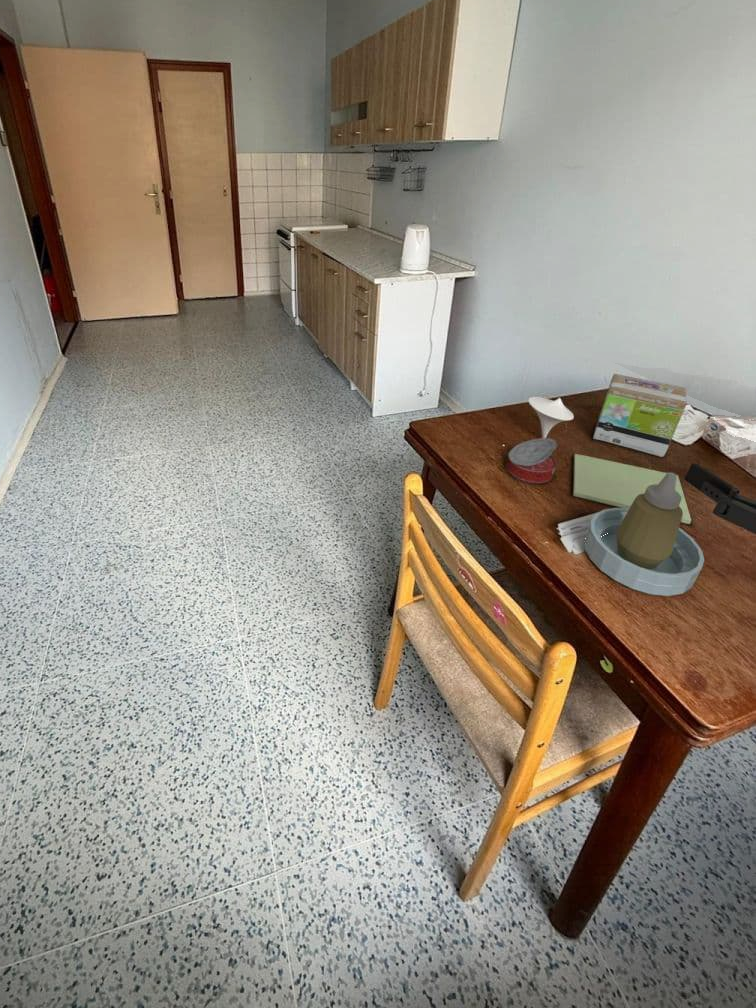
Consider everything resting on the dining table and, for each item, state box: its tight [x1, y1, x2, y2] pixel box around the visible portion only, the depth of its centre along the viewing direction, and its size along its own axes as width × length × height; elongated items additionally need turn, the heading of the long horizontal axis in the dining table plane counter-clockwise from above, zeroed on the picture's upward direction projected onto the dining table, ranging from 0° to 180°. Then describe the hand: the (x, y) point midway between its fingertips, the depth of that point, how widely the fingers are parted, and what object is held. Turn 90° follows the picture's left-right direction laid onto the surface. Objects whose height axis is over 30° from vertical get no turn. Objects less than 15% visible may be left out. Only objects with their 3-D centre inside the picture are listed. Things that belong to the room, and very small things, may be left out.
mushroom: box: [527, 396, 575, 438], centre depth 115 cm, size 10×11×12 cm
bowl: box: [584, 507, 705, 597], centre depth 82 cm, size 16×16×5 cm
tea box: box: [592, 373, 687, 458], centre depth 114 cm, size 15×10×15 cm, turn 55°
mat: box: [572, 453, 692, 525], centre depth 101 cm, size 20×16×1 cm
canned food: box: [505, 437, 558, 484], centre depth 106 cm, size 11×10×10 cm
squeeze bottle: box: [616, 471, 683, 570], centre depth 78 cm, size 8×8×18 cm
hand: (733, 471), depth 67 cm, fingers open, 13 cm apart
